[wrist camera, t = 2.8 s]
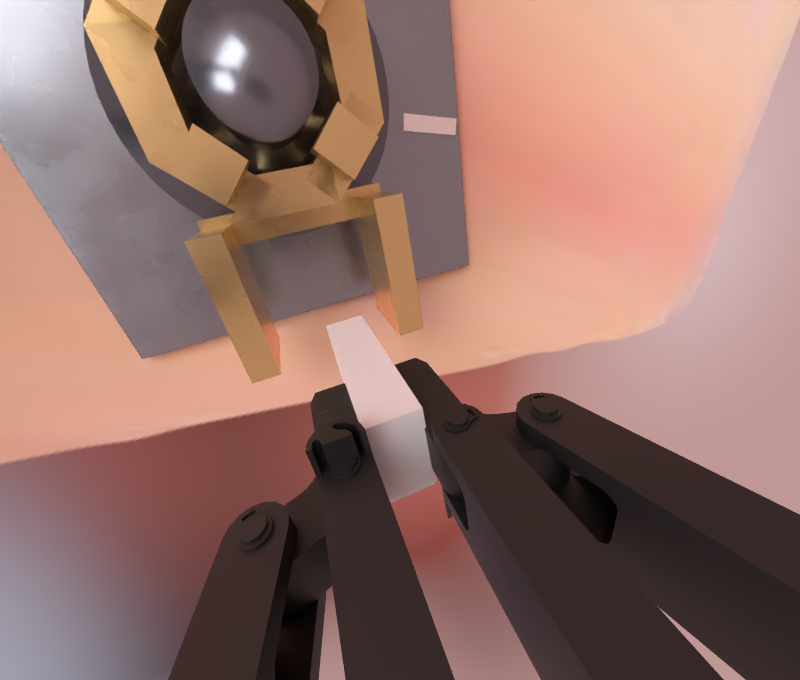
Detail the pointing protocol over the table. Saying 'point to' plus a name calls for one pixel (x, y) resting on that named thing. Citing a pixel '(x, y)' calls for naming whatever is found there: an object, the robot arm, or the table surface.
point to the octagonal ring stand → (269, 192)
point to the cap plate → (160, 224)
